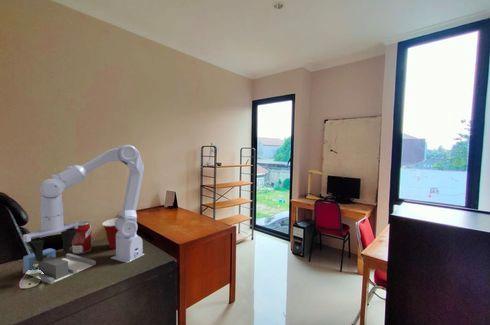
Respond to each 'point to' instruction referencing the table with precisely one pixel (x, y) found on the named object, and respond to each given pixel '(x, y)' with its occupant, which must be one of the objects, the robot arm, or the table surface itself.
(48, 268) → the grey rectangular block
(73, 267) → the sliding block fixture
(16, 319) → the table surface
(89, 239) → the soda can
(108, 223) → the plastic cup
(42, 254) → the robot arm
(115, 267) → the table surface
